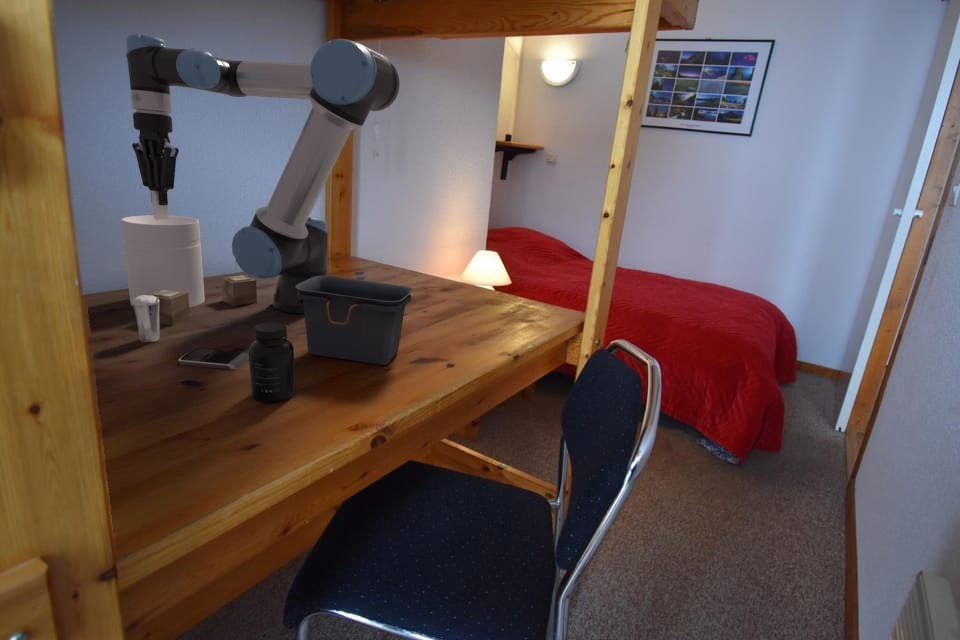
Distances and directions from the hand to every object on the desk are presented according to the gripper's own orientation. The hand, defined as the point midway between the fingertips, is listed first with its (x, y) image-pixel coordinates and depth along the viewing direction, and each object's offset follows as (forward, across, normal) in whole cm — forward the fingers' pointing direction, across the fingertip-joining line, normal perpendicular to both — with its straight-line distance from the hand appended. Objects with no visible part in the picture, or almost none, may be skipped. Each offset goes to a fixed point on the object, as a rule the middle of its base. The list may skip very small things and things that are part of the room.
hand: (161, 218), depth 126 cm
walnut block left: (+20, +13, -9) cm, 26 cm away
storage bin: (+20, +58, -1) cm, 62 cm away
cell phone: (+21, +40, -19) cm, 49 cm away
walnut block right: (+20, +12, +11) cm, 26 cm away
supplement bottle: (+20, +59, -23) cm, 67 cm away
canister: (+20, 0, 0) cm, 20 cm away
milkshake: (+20, +22, -19) cm, 36 cm away
